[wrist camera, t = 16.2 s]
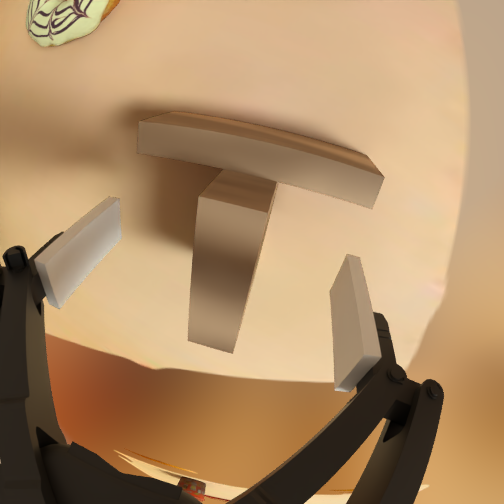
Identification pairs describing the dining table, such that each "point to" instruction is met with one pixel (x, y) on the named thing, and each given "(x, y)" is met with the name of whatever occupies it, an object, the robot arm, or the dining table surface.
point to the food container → (193, 487)
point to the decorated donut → (65, 19)
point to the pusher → (245, 202)
